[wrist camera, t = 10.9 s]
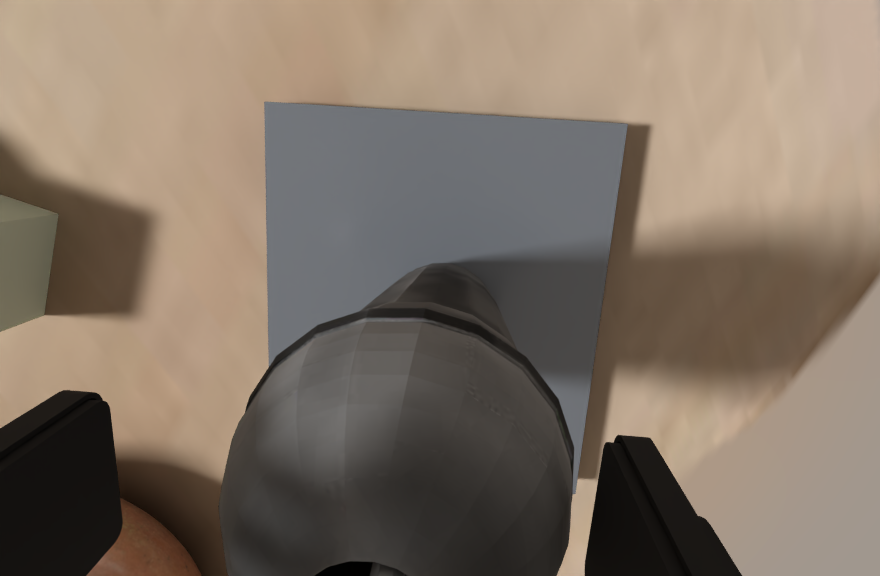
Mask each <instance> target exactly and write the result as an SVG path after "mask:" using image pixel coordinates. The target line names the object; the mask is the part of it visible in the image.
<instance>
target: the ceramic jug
mask: <svg viewBox="0 0 880 576" xmlns="http://www.w3.org/2000/svg"><path fill="white" fill-rule="evenodd" d="M120 501H121V510H122V518H123V525H122V530H121V533H120V535H119V537H118V539H117V541H116V542H115V543H114V545H113V546H112V547H111V548H110V549H109V550H108V551H107V553H106V554H105V555H104V556H103V557H102V558H101V559H100V561H99V562H98V563H97V564H96V565H95V566H94V567H93V569H92V570H91V571H90V572H89V573H88V574H87V575H86V576H201V574H200V572H199V570H198V568H197V566H196V564H195V562H194V561H193V559H192V558H191V556H190V555H189V553H188V552H187V550H186V549H185V548H184V547H183V545H182V544H181V543H180V542H179V541H178V540H177V538H176V537H175V536H174V535H173V534H172V533H171V532H170V531H169V530H168V529H167V528H165V527H164V526H163V525H162V524H161V523H160V522H158V521H157V520H156V519H155V518H153V517H152V516H151V515H149V514H148V513H146V512H145V511H143V510H141V509H140V508H138V507H137V506H135V505H133V504H131V503H129V502H128V501H126V500H124V499H121V498H120Z"/></svg>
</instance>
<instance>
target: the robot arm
mask: <svg viewBox="0 0 880 576" xmlns="http://www.w3.org/2000/svg"><path fill="white" fill-rule="evenodd" d="M122 525H123V518H122V510H121V501H120V492H119V483H118V474H117V466H116V457H115V448H114V439H113V431H112V422H111V413H110V407H109V405H108V403H107V402H105V401H103V400H102V398H101V396H100V395H99V394H97V393H94V392H82V391H70V390H63V391H61V392H59V393H57V394H55V395H54V396H52V397H50V398H49V399H47V400H46V401H44V402H42V403H41V404H39V405H38V406H36V407H34V408H33V409H31V410H29V411H28V412H26V413H25V414H23V415H21V416H20V417H18V418H17V419H15V420H13V421H12V422H10V423H8V424H7V425H5V426H4V427H2V428H0V576H86V575H87V574H88V573H89V572H90V571H91V570H92V569H93V567H94V566H95V565H96V564H97V563H98V562H99V561H100V559H101V558H102V557H103V556H104V555H105V554H106V553H107V551H108V550H109V549H110V548H111V547H112V546H113V545H114V543H115V542H116V541H117V539H118V537H119V535H120V533H121V530H122ZM585 576H742V575H741V573H740V572H739V570H738V569H737V567H736V565H735V564H734V562H733V561H732V559H731V557H730V556H729V554H728V553H727V551H726V549H725V548H724V546H723V544H722V543H721V541H720V540H719V538H718V536H717V535H716V533H715V532H714V530H713V528H712V527H711V525H710V524H709V523H708V522H707V520H706V519H704V518H702V517H700V516H697V514H696V513H695V511H694V509H693V507H692V506H691V504H690V502H689V501H688V499H687V498H686V496H685V494H684V492H683V491H682V489H681V487H680V486H679V484H678V482H677V481H676V479H675V477H674V476H673V474H672V473H671V471H670V469H669V468H668V466H667V464H666V463H665V461H664V459H663V458H662V456H661V454H660V453H659V451H658V449H657V448H656V446H655V444H654V443H653V441H652V440H651V439H650V438H647V437H635V436H623V435H618V436H617V437H616V438H615V440H614V443H611V442H606V443H605V445H604V449H603V455H602V461H601V467H600V473H599V479H598V486H597V492H596V498H595V504H594V510H593V517H592V523H591V529H590V535H589V541H588V548H587V554H586V560H585Z"/></svg>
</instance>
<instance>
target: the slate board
mask: <svg viewBox="0 0 880 576" xmlns="http://www.w3.org/2000/svg"><path fill="white" fill-rule="evenodd" d="M264 107H265V166H266V226H267V285H268V345H269V366H270V365H271V363H272V362H273V360H274V359H275V357H276V356H277V355H278V354H279V353H281V352H282V351H283V350H285V349H286V348H287V347H289V346H290V345H291V344H293V343H294V342H295V341H297V340H298V339H299V338H301V337H302V336H303V335H305V334H306V333H307V332H309V331H310V330H311V329H313V328H314V327H315V326H317V325H319V324H322V323H325V322H328V321H331V320H334V319H337V318H340V317H343V316H346V315H350V314H353V313H356V312H359V311H360V310H362V309H363V308H364V307H365V306H366V305H368V304H369V303H370V302H371V301H373V300H374V299H375V298H376V297H378V296H379V295H380V294H381V293H382V292H384V291H385V290H386V289H387V288H389V287H390V286H391V285H392V284H394V283H395V282H396V281H398V280H399V279H400V278H402V277H403V276H404V275H406V274H407V273H408V272H411V271H413V270H414V269H416V268H419V267H422V266H425V265H428V264H431V263H450V264H453V265H456V266H460V267H463V268H466V269H467V270H468V271H470V272H471V273H473V274H474V275H476V276H477V277H479V278H480V280H481V281H482V282H483V284H484V285H485V286H486V288H487V289H488V290H489V292H490V294H491V295H492V296H493V298H494V299H495V301H496V303H497V305H498V308H499V310H500V312H501V314H502V317H503V319H504V321H505V323H506V326H507V328H508V330H509V332H510V335H511V337H512V339H513V341H514V344H515V346H516V348H517V350H518V351H519V352H520V353H522V354H523V355H524V356H526V357H527V358H528V360H529V361H530V362H531V364H532V365H533V366H534V368H535V369H536V370H537V371H538V373H539V374H540V375H541V377H542V378H543V379H544V381H545V382H546V383H547V385H548V386H549V387H550V389H551V390H552V391H553V392H554V394H555V395H556V396H557V398H558V399H559V402H560V405H561V408H562V411H563V414H564V417H565V420H566V423H567V426H568V429H569V433H570V436H571V439H572V442H573V445H574V469H573V493H572V494H575V492H576V485H577V478H578V471H579V464H580V457H581V450H582V443H583V436H584V429H585V422H586V415H587V408H588V401H589V394H590V387H591V380H592V373H593V366H594V359H595V351H596V344H597V337H598V330H599V323H600V316H601V309H602V302H603V295H604V288H605V281H606V274H607V267H608V260H609V253H610V246H611V239H612V232H613V225H614V218H615V211H616V204H617V197H618V189H619V182H620V175H621V168H622V161H623V154H624V147H625V140H626V133H627V126H628V124H623V123H606V122H590V121H574V120H557V119H541V118H524V117H508V116H492V115H475V114H459V113H442V112H426V111H410V110H393V109H377V108H360V107H344V106H328V105H311V104H295V103H278V102H264Z"/></svg>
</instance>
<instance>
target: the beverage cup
mask: <svg viewBox="0 0 880 576" xmlns="http://www.w3.org/2000/svg"><path fill="white" fill-rule="evenodd" d="M573 469H574V445H573V442H572V439H571V436H570V433H569V429H568V426H567V423H566V420H565V417H564V414H563V411H562V408H561V405H560V402H559V399H558V398H557V396H556V395H555V394H554V392H553V391H552V390H551V389H550V387H549V386H548V385H547V383H546V382H545V381H544V379H543V378H542V377H541V375H540V374H539V373H538V371H537V370H536V369H535V368H534V366H533V365H532V364H531V362H530V361H529V360H528V358H527V357H526V356H524V355H523V354H522V353H520V352H519V351H518V350H517V348H516V346H515V344H514V341H513V339H512V337H511V335H510V332H509V330H508V328H507V326H506V323H505V321H504V319H503V317H502V314H501V312H500V310H499V308H498V305H497V303H496V301H495V299H494V298H493V296H492V295H491V294H490V292H489V290H488V289H487V288H486V286H485V285H484V284H483V282H482V281H481V280H480V278H479V277H477V276H476V275H474V274H473V273H471V272H470V271H468V270H467V269H466V268H463V267H460V266H456V265H453V264H450V263H431V264H428V265H425V266H422V267H419V268H416V269H414V270H413V271H411V272H408V273H407V274H406V275H404V276H403V277H402V278H400V279H399V280H398V281H396V282H395V283H394V284H392V285H391V286H390V287H389V288H387V289H386V290H385V291H384V292H382V293H381V294H380V295H379V296H378V297H376V298H375V299H374V300H373V301H371V302H370V303H369V304H368V305H366V306H365V307H364V308H363V309H362V310H360V311H359V312H356V313H353V314H350V315H346V316H343V317H340V318H337V319H334V320H331V321H328V322H325V323H322V324H319V325H317V326H315V327H314V328H313V329H311V330H310V331H309V332H307V333H306V334H305V335H303V336H302V337H301V338H299V339H298V340H297V341H295V342H294V343H293V344H291V345H290V346H289V347H287V348H286V349H285V350H283V351H282V352H281V353H279V354H278V355H277V356H276V357H275V359H274V360H273V362H272V363H271V365H270V366H269V368H268V369H267V371H266V372H265V374H264V376H263V377H262V379H261V380H260V382H259V383H258V385H257V386H256V388H255V389H254V391H253V392H252V394H251V395H250V398H249V401H248V403H247V407H246V411H245V414H244V415H243V417H242V418H241V420H240V421H239V423H238V426H237V428H236V431H235V433H234V436H233V438H232V441H231V446H230V450H229V455H228V459H227V464H226V468H225V473H224V477H223V482H222V486H221V493H220V500H219V516H220V525H221V533H222V540H223V547H224V554H225V561H226V569H227V573H228V576H556V575H557V573H558V571H559V568H560V566H561V564H562V561H563V558H564V555H565V552H566V550H567V547H568V543H569V532H570V518H571V502H572V493H573Z"/></svg>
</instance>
